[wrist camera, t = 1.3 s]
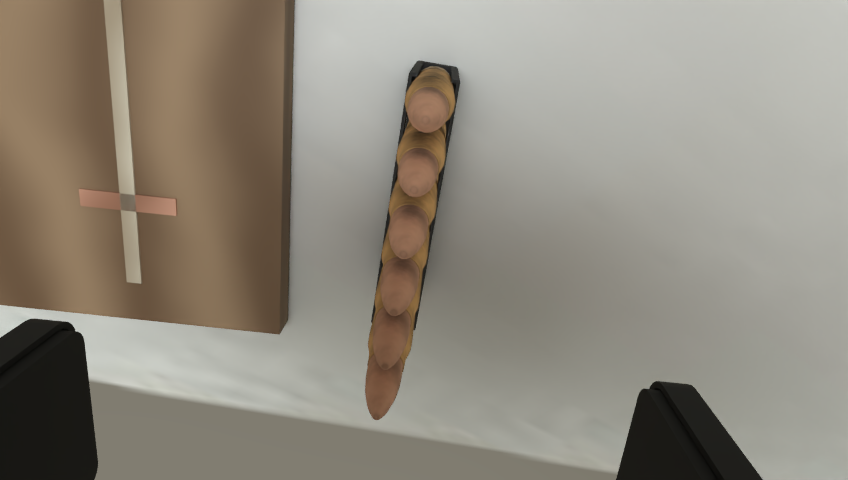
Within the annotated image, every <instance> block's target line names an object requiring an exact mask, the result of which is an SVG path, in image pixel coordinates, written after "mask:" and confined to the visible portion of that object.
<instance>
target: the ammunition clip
mask: <svg viewBox="0 0 848 480" xmlns="http://www.w3.org/2000/svg"><path fill="white" fill-rule="evenodd" d="M459 86H460V79H459V73H458V69H457V67H453V66H447V65H441V64H436V63H430V62H424V61H417V63H416V64H415V65H414V67H413V68H412V70H411V71H410V73H409V76H408V83H407V90H406V96H405V103H404V109H403V116H402V123H401V129H400V136H399V142H398V149H397V156H396V162H395V169H394V175H393V182H392V188H391V195H390V202H389V208H388V215H387V221H386V228H385V235H384V241H383V248H382V254H381V261H380V268H379V274H378V281H377V287H376V294H375V301H374V307H373V314H372V320H371V322H372V326H371V330H370V334H369V341H368V348H369V360H368V369H367V374H366V385H365V393H366V401H367V406H368V409H369V412H370V414H371V416H372V417H373V419H375V420H379V419H380V418H382V417H383V416H384V415H385V414H386V413H387V412H388V410H389V408H390V407H391V405H392V403H393V402H394V400H395V398H396V395H397V392H398V389H399V386H400V382H401V377H402V372H403V369H404V365H405V360H406V358H407V356H408V354H409V352H410V350H411V345H412V338H413V330H415V328H416V323H417V317H418V311H419V306H420V300H421V295H422V289H423V284H424V278H425V273H426V267H427V262H428V256H429V251H430V245H431V240H432V234H433V229H434V223H435V218H436V212H437V207H438V201H439V196H440V190H441V185H442V179H443V174H444V168H445V163H446V157H447V152H448V146H449V141H450V135H451V130H452V124H453V119H454V113H455V108H456V102H457V97H458V91H459ZM406 118H407V119H406ZM405 125H406V126H405ZM404 131H405V132H404Z"/></svg>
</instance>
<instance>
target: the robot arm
mask: <svg viewBox="0 0 848 480" xmlns="http://www.w3.org/2000/svg"><path fill="white" fill-rule="evenodd" d="M97 468H98V458H97V449H96V441H95V432H94V423H93V415H92V406H91V397H90V388H89V379H88V370H87V361H86V352H85V343H84V338H83V336H82V334H81V333H79V332H75V329H74V327H73V325H72V324H70V323H69V322H62V321H52V320H42V319H29V320H27V321H25V322H23V323H22V324H20V325H19V326H17V327H16V328H14V329H13V330H11V331H10V332H8V333H7V334H5V335H4V336H2V337H1V338H0V480H94V479H95V476H96V473H97ZM616 480H763V479H762V478H761V477H760V475H759V474H758V473H757V471H756V470H755V469H754V467H753V466H752V465H751V463H750V462H749V461H748V459H747V458H746V456H745V455H744V454H743V452H742V451H741V450H740V448H739V447H738V446H737V444H736V443H735V442H734V440H733V439H732V438H731V436H730V435H729V434H728V432H727V431H726V429H725V428H724V427H723V425H722V424H721V423H720V421H719V420H718V419H717V417H716V416H715V415H714V413H713V412H712V411H711V409H710V408H709V407H708V405H707V404H706V403H705V401H704V400H703V398H702V397H701V396H700V394H699V393H698V392H697V390H696V389H695V388H694V387H693V386H692V385H688V384H679V383H669V382H659V381H656V382H654V383H653V384H652V385H651V386H650V389H642V390H641V392H640V393H639V396H638V399H637V403H636V407H635V410H634V414H633V418H632V422H631V426H630V429H629V433H628V437H627V441H626V445H625V448H624V452H623V456H622V460H621V464H620V467H619V471H618V475H617V479H616Z"/></svg>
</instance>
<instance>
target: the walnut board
mask: <svg viewBox="0 0 848 480" xmlns="http://www.w3.org/2000/svg"><path fill="white" fill-rule="evenodd" d="M293 44H294V0H0V305H7V306H16V307H26V308H35V309H45V310H54V311H64V312H73V313H83V314H92V315H102V316H111V317H121V318H130V319H140V320H149V321H159V322H168V323H178V324H187V325H197V326H206V327H215V328H225V329H234V330H244V331H253V332H263V333H272V334H280V333H281V331H282V329H283V328H284V326H285V324H286V322H287V320H288V282H289V234H290V187H291V139H292V92H293Z"/></svg>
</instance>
